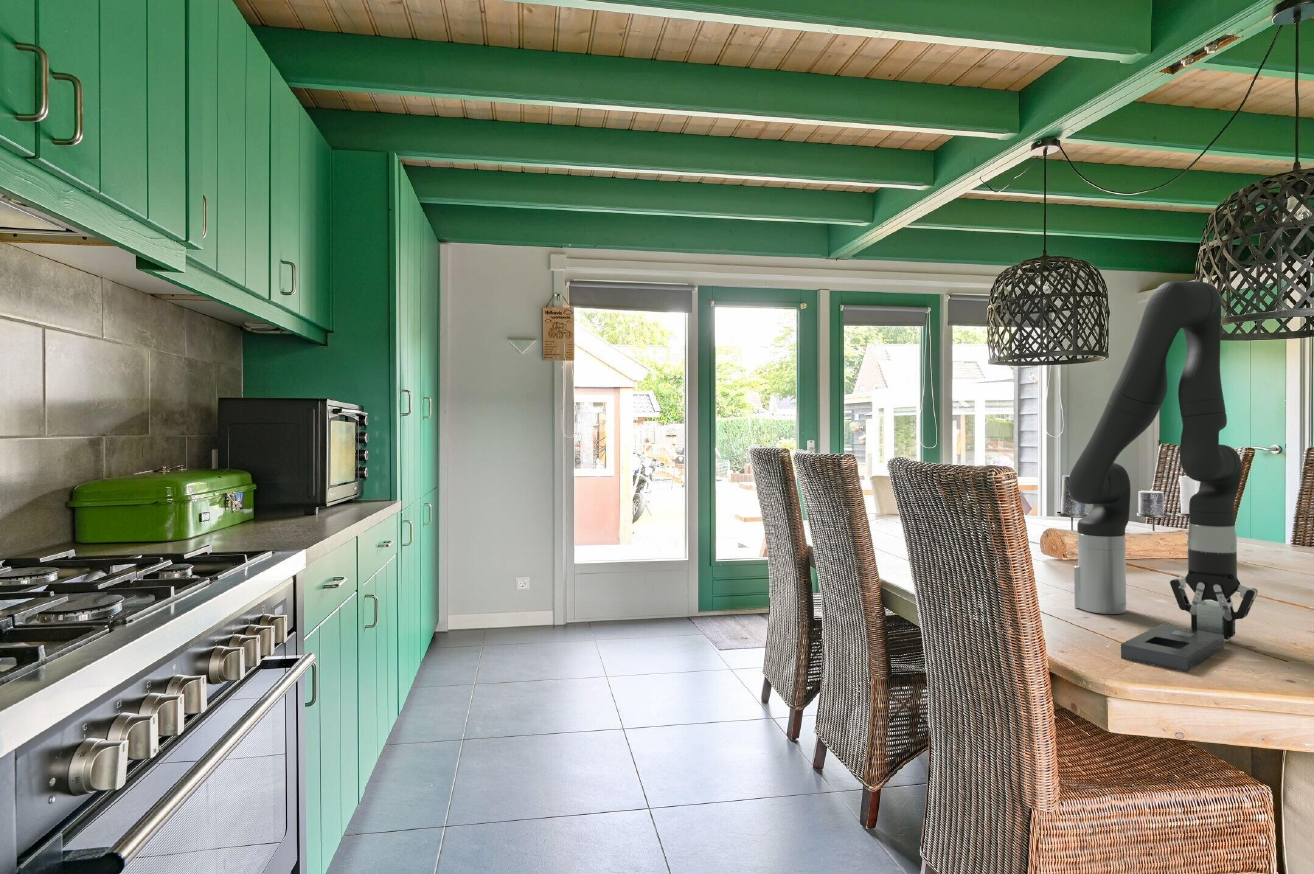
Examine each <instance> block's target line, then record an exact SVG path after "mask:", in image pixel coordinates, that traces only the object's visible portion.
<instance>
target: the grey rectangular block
mask: <svg viewBox="0 0 1314 874" xmlns="http://www.w3.org/2000/svg"><path fill="white" fill-rule="evenodd" d="M1224 620H1225V618H1224V612H1223V607H1220V605H1219V602H1211V601H1204V602H1202V603H1200V604H1198V603H1197V630H1198V631H1204V632H1210V633H1216V634H1221V635H1224ZM1226 641H1227V639H1224V642H1225V643H1227V642H1228V641H1227V642H1226Z"/></svg>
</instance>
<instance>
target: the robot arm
mask: <svg viewBox="0 0 1314 874" xmlns="http://www.w3.org/2000/svg"><path fill="white" fill-rule="evenodd" d="M1144 308H1145V309H1144V310H1143V314H1142V317H1141V320H1140V323H1139V327H1138V329H1137V333H1136V336H1135V339H1134V341H1133V345H1132V347H1131V349H1130V351H1129V354H1128V356H1127V359H1126V361H1125V364H1124V365H1123V368H1122V370H1121V372H1120V375H1119V377H1118V379H1117V380H1116V383H1115V385H1114V387H1113V389H1112V391H1111V394H1110V396H1109V398H1108V401H1107V403H1106V405H1105V408H1104V410H1103V412H1102V414H1101V416H1100V418H1099V420H1098V422H1097V424H1096V427H1095V429H1094V431H1093V433H1092V435H1091V437H1090V439H1089V440H1088V443H1087V444H1086V446H1085V447H1084V449H1083V451H1082V452H1081V454H1080V456H1079V457H1078V459H1077V461H1076V462H1075V464H1074V465H1073V468H1072V469H1071V471H1070V473H1069V474H1070V475H1069V477H1068V482H1067V485H1068V486H1067V488H1068V492H1069V494H1070V497H1071V498H1072V499H1073V500H1074V501H1075V502H1076V503H1079V504H1084V505H1093V506H1092V509H1091V511H1090V512H1089V513H1088V514H1087V515H1085V516H1084V517H1081V518H1080V519H1079V520H1078V521H1077V530H1076V531H1077V564H1076V565H1075V566H1074V567H1073V568H1074V569H1073V572H1074V574H1073V576H1074V577H1073V579H1074V580H1073V581H1074V586H1073V587H1074V592H1073V593H1074V608H1075V609H1076V608H1077V609H1080V610H1083V611H1086V612H1089V613H1097V614H1103V615H1120V614H1125V613H1126V612H1127V580H1126V579H1127V577H1126V575H1127V573H1126V572H1127V571H1126V570H1127V569H1126V568H1127V567H1126V566H1127V565H1126V562H1127V561H1126V528H1127V526H1128V523H1129V521H1130V508H1131V480H1130V477H1129V474H1128V472H1127V470H1126V469H1125V468H1124V467H1123V466H1122V465H1121V464H1119V463H1116V460H1117V458H1118V456H1119V455H1120V453H1121V452H1123V450H1124V449H1125V448H1127V447H1128V446H1129V445H1130V444H1132V442H1134V441H1135V440H1136V439H1137V438H1138V437H1140V435H1142V433H1143V432H1145V431H1146V429H1148V428H1149V427H1150V425H1151V424H1152V423H1153V422H1154V420H1155V419H1156V417H1157V415H1158V413H1159V411H1160V409H1161V407H1162V405H1163V403H1164V401H1165V398H1166V396H1167V393H1168V385H1169V384H1168V373H1167V358H1168V353H1169V351H1170V349H1171V346H1172V345H1173V343H1174V340H1175V338H1176V336H1177V334H1178V333H1179V331H1180V330H1181V329H1182V331H1183V333H1184V338H1185V342H1186V356H1185V357H1186V358H1185V362H1184V366H1183V369H1182V371H1181V375H1180V378H1179V383H1178V391H1177V397H1178V405H1179V411H1180V418H1181V425H1182V429H1181V435H1180V443H1179V445H1180V446H1179V462H1180V465H1181V469H1182V470H1183V472H1184V474H1185V475H1186V476H1187V477H1188V478H1190V479H1192V480H1193V481H1195V482H1196V481H1197V482H1199V489H1198V491H1197V492H1196V493H1195V494H1193V495H1192V496H1190V499H1189V502H1188V503H1189V504H1188V505H1189V506H1188V510H1189V511H1188V514H1189V515H1188V518H1189V519H1188V524H1189V525H1188V531H1187V540H1186V541H1187V542H1186V543H1187V544H1186V545H1187V570H1188V571H1187V574H1186V575H1185V577H1183V578H1174V579H1172V580H1170V581H1169V584H1170V587H1171V590H1172V593H1173V595H1174V598H1175V600H1176V603H1177V605H1178V608H1179V609H1180V610H1181V611H1186V612H1188V613H1189V614H1190V617H1191V618H1190V619H1191V620H1190V624H1191V627H1190V629H1192V630H1197V603H1198V604H1200V603H1202V602H1204V601H1205V600H1213V601H1216V602H1218V603H1219V605H1220V607H1223V612H1224V618H1225V620H1224V639H1227V640H1228V641H1230V640H1231V638H1233V637H1234V636H1235V635H1236V620H1242V619H1245V618H1246V617H1247V616H1248V615H1249V613H1250V610H1251V609H1252V606H1253V604H1254V601H1255V599H1256V598H1257V595H1258V589H1257V588H1254V587H1251V588H1250V587H1248V586H1245V585H1243V584H1241V582H1240V580H1239V579H1238V549H1237V545H1238V544H1237V543H1238V542H1237V541H1238V540H1237V533H1236V527H1235V526H1236V521H1235V520H1236V518H1235V517H1236V514H1235V513H1236V511H1235V501H1236V500H1237V499H1236V498H1237V495H1238V491H1239V488H1240V483H1241V480H1242V473H1243V472H1242V471H1243V463H1242V459H1241V457H1240V455H1239V453H1238V452H1237V450H1236V449H1234V448H1233V447H1231V446H1229V445H1226V444H1220V431H1221V430H1224V429H1225V428H1226V426H1227V423H1228V416H1227V411H1226V410H1227V409H1226V405H1225V397H1224V392H1223V388H1222V387H1223V386H1222V378H1221V336H1222V335H1221V332H1222V330H1221V328H1222V327H1221V326H1222V300H1221V296H1220V293H1219V291H1218V289H1217V288H1216V287H1215V286H1214V285H1213V284H1211V283H1209V282H1205V281H1197V280H1195V281H1192V280H1191V281H1190V280H1171V281H1166V282H1164V283H1162V284H1160V285H1158V286H1157V288H1155V290H1153V292H1152V293H1151V295H1150V297H1149V298H1148V300H1147V303H1146V306H1145V307H1144ZM1187 585H1188V586H1189V588H1190V589H1191V590H1192V591H1193V593H1194V595H1193V598H1192V602H1191V603H1192V604H1191V603H1190V600H1189V598H1188V594H1187V593H1186V590H1185V589H1186V588H1187ZM1237 591H1238V592H1239V596H1240V598H1241V599H1242V600H1241V601H1240V605H1239V607H1238V609H1237V611H1235V607H1234V603H1233V600H1232V596H1233V595H1235V593H1236V592H1237ZM1222 601H1223V602H1222Z"/></svg>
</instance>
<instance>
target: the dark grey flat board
mask: <svg viewBox="0 0 1314 874" xmlns="http://www.w3.org/2000/svg"><path fill="white" fill-rule="evenodd" d="M1223 648H1225V643H1224V635H1221V634H1216V633H1210V632H1204V631H1198V630H1192V628H1186V627H1179V626H1174V625H1169V624H1162V623H1161V624H1159V625H1156V626H1155V627H1153V628H1150V629H1149V630H1146V631H1144V632H1143V633H1141V634H1139V635H1135V636H1134V637H1133V638H1129V639H1128V640H1126V641H1124V642H1122V643H1121V644H1120V658H1121V659H1124V660H1129V659H1130V661H1134V662H1138V661H1139V662H1138V663H1143V662H1145V663H1144V664H1147V663H1148V665H1152V664H1155V665H1154V666H1157V665H1159V666H1158V667H1161V666H1163V667H1162V668H1166V667H1167V669H1171V668H1172V669H1171V670H1176V671H1180V670H1181V672H1185V671H1186V672H1185V673H1188V672H1190V671H1191V670H1192V669H1194V668H1195V667H1197V666H1199V665H1200V664H1201V663H1203V662H1205V661H1206V660H1208V659H1209V657H1210V658H1211V657H1212V656H1214V655H1216V654H1217V653H1219V652H1220V651H1222V650H1224V649H1223Z"/></svg>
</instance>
